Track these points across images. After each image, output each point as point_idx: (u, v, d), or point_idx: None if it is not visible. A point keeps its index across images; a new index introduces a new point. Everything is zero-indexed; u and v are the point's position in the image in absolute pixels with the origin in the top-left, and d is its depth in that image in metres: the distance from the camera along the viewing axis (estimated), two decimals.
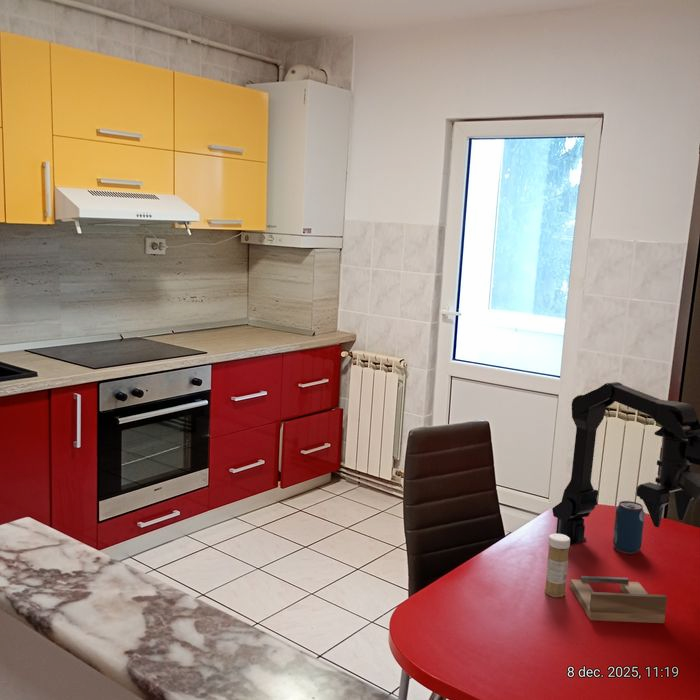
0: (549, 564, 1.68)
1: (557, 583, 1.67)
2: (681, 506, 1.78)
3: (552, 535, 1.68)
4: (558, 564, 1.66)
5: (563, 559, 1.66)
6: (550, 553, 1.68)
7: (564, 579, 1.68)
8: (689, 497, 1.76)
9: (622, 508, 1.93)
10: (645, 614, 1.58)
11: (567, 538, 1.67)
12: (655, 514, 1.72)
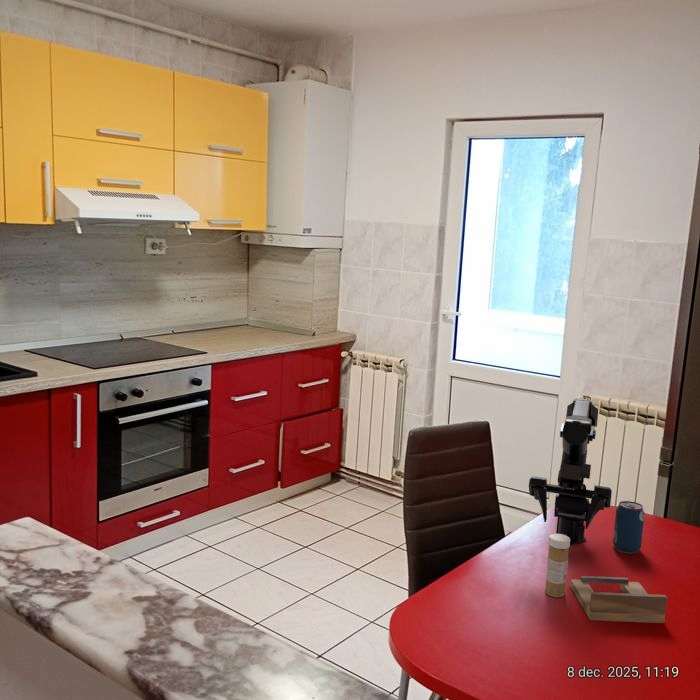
0: (549, 564, 1.68)
1: (557, 583, 1.67)
2: None
3: (552, 535, 1.68)
4: (558, 564, 1.66)
5: (563, 559, 1.66)
6: (550, 553, 1.68)
7: (564, 579, 1.68)
8: (590, 503, 1.75)
9: (622, 508, 1.93)
10: (645, 614, 1.58)
11: (567, 538, 1.67)
12: (542, 507, 1.79)
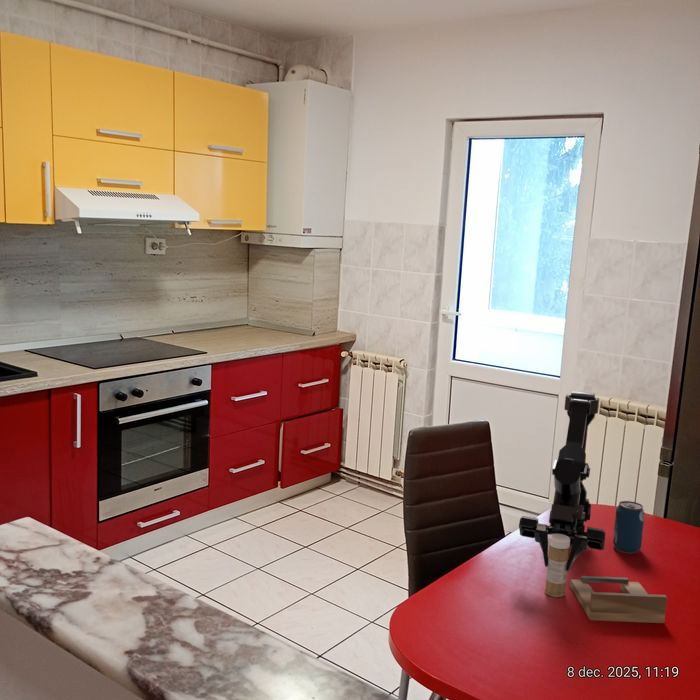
0: (549, 564, 1.68)
1: (557, 583, 1.67)
2: None
3: (552, 535, 1.68)
4: (558, 564, 1.66)
5: (563, 559, 1.66)
6: (550, 553, 1.68)
7: (564, 579, 1.68)
8: None
9: (622, 508, 1.93)
10: (645, 614, 1.58)
11: (567, 538, 1.67)
12: None
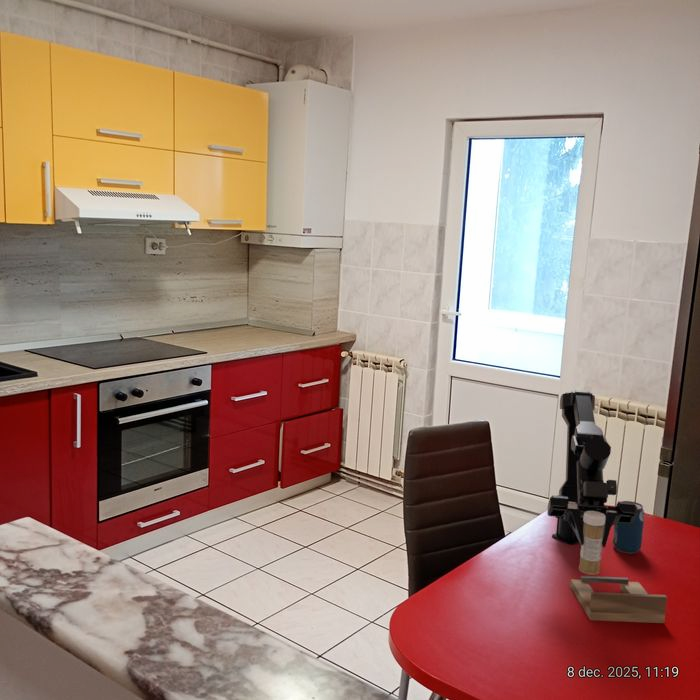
0: (585, 542, 1.65)
1: (594, 561, 1.65)
2: (603, 533, 1.67)
3: (587, 513, 1.66)
4: (596, 541, 1.64)
5: (600, 536, 1.64)
6: (586, 531, 1.65)
7: (600, 556, 1.66)
8: (605, 519, 1.67)
9: None
10: (645, 614, 1.58)
11: (602, 514, 1.65)
12: (576, 529, 1.67)
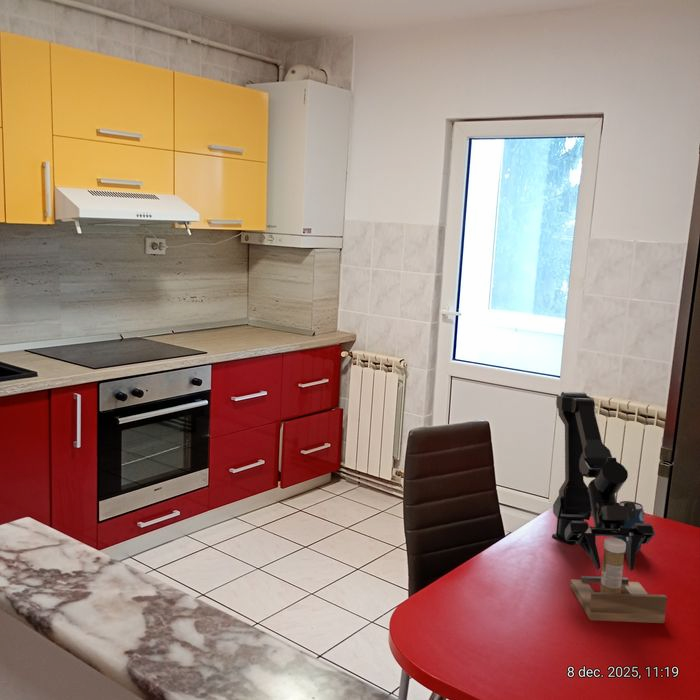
0: (608, 570, 1.66)
1: (616, 588, 1.66)
2: (628, 556, 1.68)
3: (607, 540, 1.67)
4: (618, 568, 1.65)
5: (622, 563, 1.66)
6: (608, 559, 1.66)
7: (621, 582, 1.67)
8: (630, 542, 1.68)
9: None
10: (645, 614, 1.58)
11: (622, 541, 1.67)
12: (591, 553, 1.68)
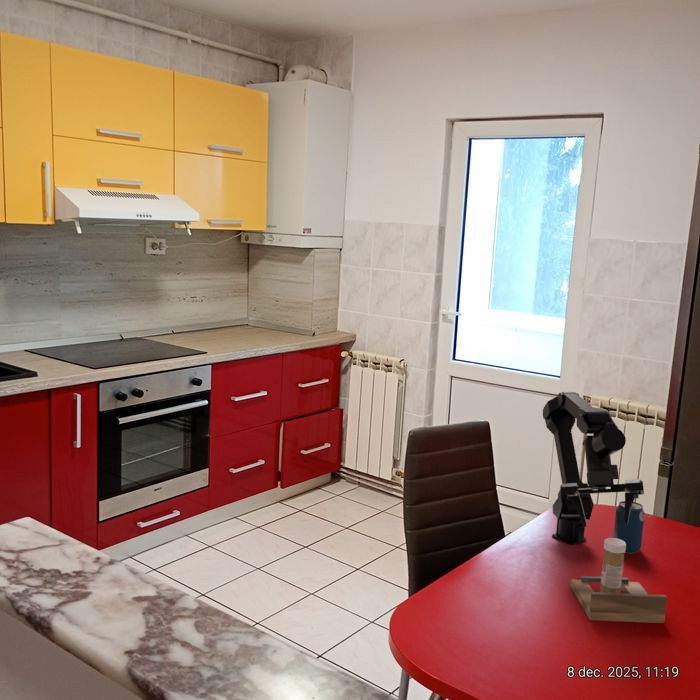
0: (608, 570, 1.66)
1: (616, 588, 1.66)
2: None
3: (607, 540, 1.67)
4: (618, 568, 1.65)
5: (622, 563, 1.66)
6: (608, 559, 1.66)
7: (621, 582, 1.67)
8: (625, 499, 1.77)
9: (622, 508, 1.93)
10: (645, 614, 1.58)
11: (622, 541, 1.66)
12: (579, 512, 1.80)
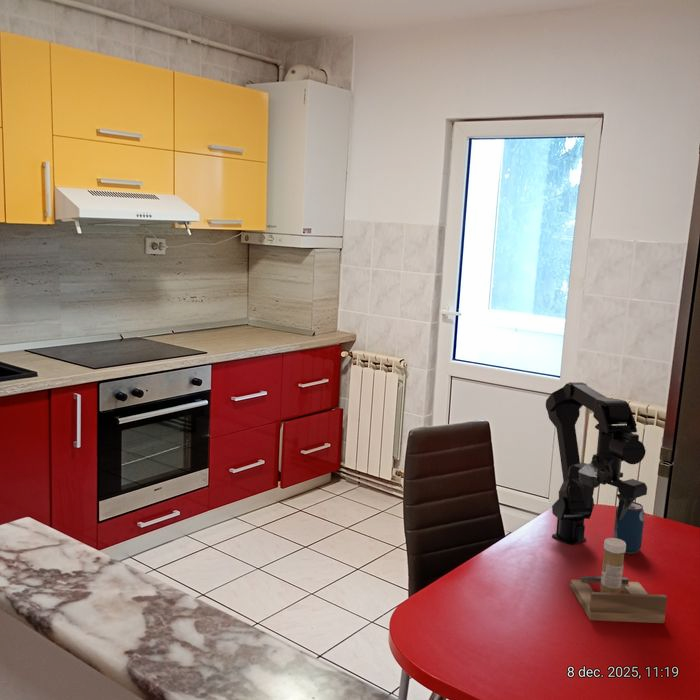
0: (608, 570, 1.66)
1: (616, 588, 1.66)
2: None
3: (607, 540, 1.67)
4: (618, 568, 1.65)
5: (622, 563, 1.66)
6: (608, 559, 1.66)
7: (621, 582, 1.67)
8: None
9: None
10: (645, 614, 1.58)
11: (622, 541, 1.66)
12: None
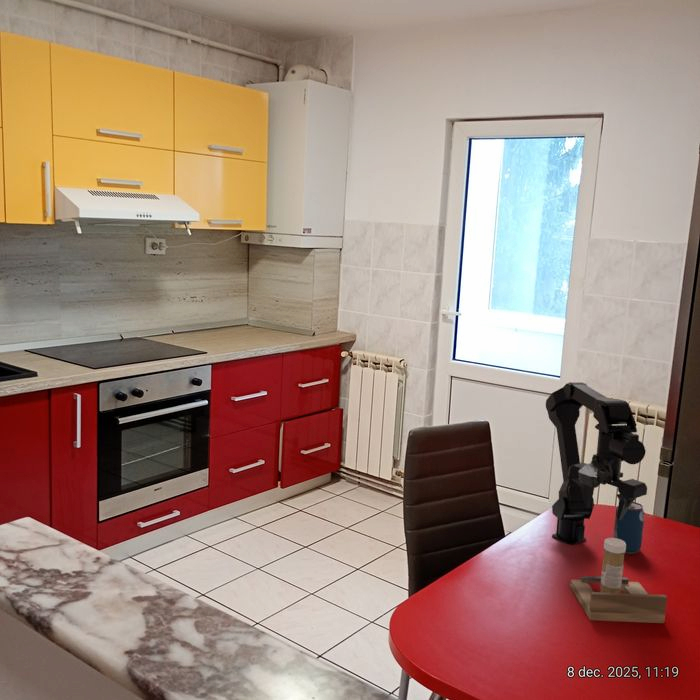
0: (608, 570, 1.66)
1: (616, 588, 1.66)
2: None
3: (607, 540, 1.67)
4: (618, 568, 1.65)
5: (622, 563, 1.66)
6: (608, 559, 1.66)
7: (621, 582, 1.67)
8: None
9: None
10: (645, 614, 1.58)
11: (622, 541, 1.66)
12: None
